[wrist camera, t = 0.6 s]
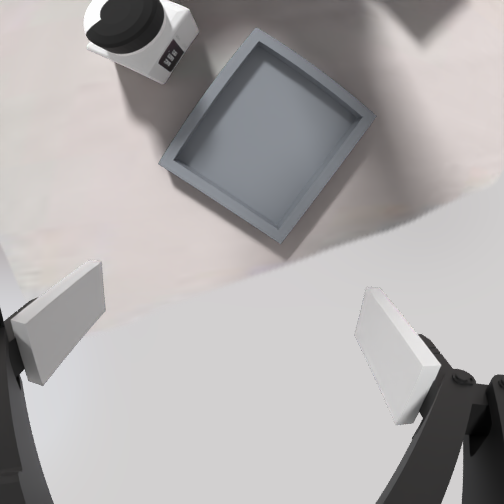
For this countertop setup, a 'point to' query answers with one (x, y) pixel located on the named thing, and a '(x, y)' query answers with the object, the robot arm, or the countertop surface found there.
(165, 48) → the container
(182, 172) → the tray
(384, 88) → the countertop surface
